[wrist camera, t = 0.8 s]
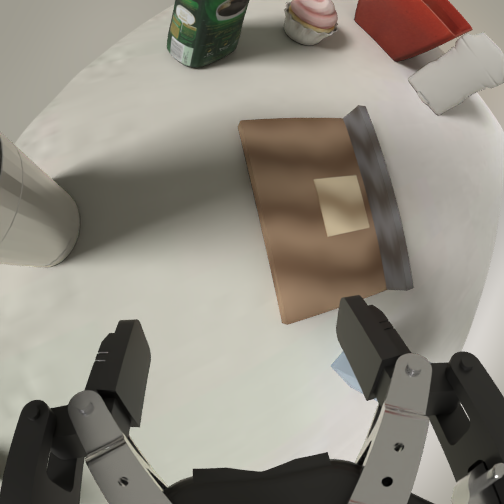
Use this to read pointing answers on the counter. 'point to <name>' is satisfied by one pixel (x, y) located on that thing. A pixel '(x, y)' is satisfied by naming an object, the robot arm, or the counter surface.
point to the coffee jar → (205, 30)
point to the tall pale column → (460, 73)
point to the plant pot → (410, 25)
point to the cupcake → (310, 20)
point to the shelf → (325, 211)
